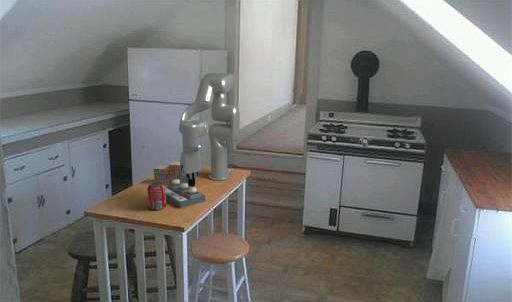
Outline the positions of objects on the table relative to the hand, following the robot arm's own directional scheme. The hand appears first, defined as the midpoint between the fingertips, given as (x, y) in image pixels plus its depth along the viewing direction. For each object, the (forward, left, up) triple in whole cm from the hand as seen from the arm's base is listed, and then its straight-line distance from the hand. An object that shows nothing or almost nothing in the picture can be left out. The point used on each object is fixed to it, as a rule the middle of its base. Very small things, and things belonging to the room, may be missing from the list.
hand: (191, 185), depth 192 cm
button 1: (0, -16, -3) cm, 17 cm away
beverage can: (+16, -5, -9) cm, 19 cm away
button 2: (0, 0, -3) cm, 4 cm away
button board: (+2, -8, -8) cm, 12 cm away
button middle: (0, -8, -4) cm, 9 cm away
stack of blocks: (-7, -29, -9) cm, 31 cm away
